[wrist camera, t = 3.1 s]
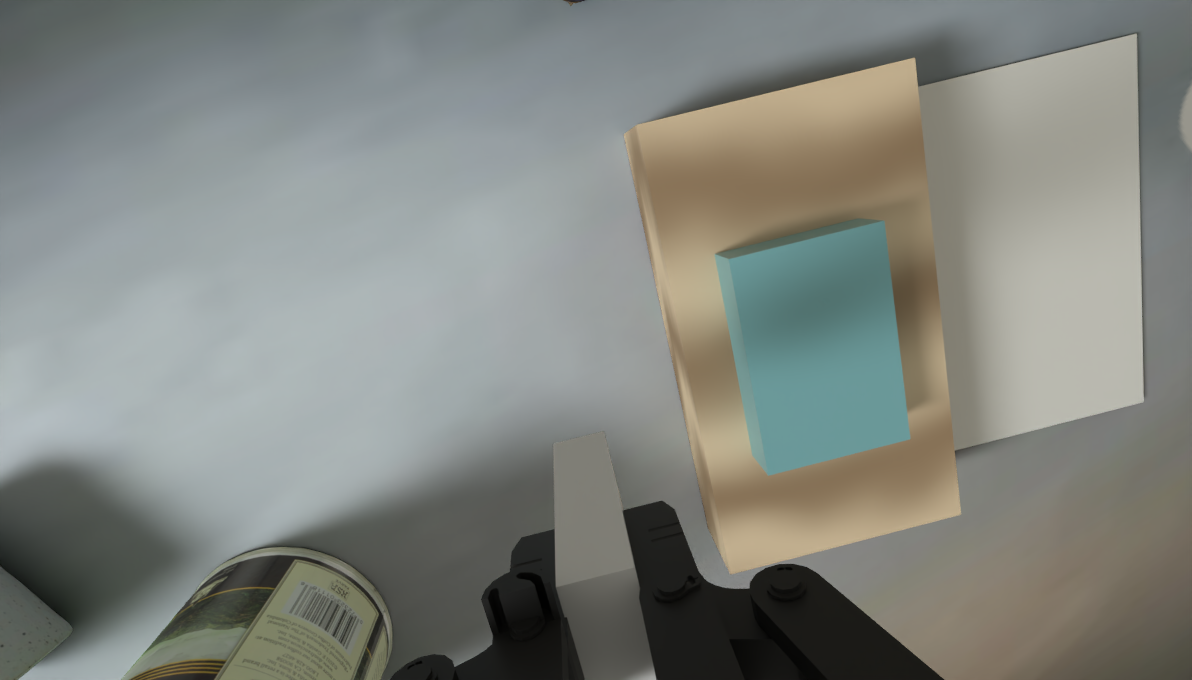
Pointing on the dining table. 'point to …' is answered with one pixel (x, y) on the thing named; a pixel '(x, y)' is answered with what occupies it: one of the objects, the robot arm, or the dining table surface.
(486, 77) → the dining table surface
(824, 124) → the tan flat rectangular slab
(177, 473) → the dining table surface
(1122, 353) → the mat
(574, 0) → the flask
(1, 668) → the ceramic mug
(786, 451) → the teal rectangular block
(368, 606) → the coffee can
